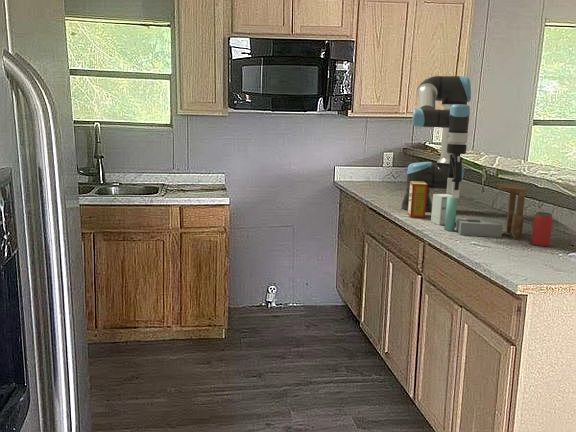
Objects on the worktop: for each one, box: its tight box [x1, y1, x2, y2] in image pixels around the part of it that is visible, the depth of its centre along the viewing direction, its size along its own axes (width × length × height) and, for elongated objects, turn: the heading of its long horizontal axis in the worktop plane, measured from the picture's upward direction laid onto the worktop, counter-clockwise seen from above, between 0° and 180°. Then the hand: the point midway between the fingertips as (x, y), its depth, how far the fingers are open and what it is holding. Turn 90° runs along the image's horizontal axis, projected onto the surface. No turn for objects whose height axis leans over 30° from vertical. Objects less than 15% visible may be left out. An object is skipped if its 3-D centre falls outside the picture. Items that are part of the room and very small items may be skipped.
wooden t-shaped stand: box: [493, 182, 528, 240], centre depth 223 cm, size 14×9×20 cm, turn 173°
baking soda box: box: [407, 181, 428, 219], centre depth 257 cm, size 10×6×16 cm
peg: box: [444, 196, 458, 232], centre depth 229 cm, size 4×4×14 cm
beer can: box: [530, 211, 554, 247], centre depth 209 cm, size 7×7×12 cm
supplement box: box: [430, 193, 452, 226], centre depth 243 cm, size 7×7×13 cm
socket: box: [455, 217, 504, 238], centre depth 226 cm, size 10×16×5 cm, turn 82°
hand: (452, 195), depth 227 cm, fingers open, 13 cm apart
